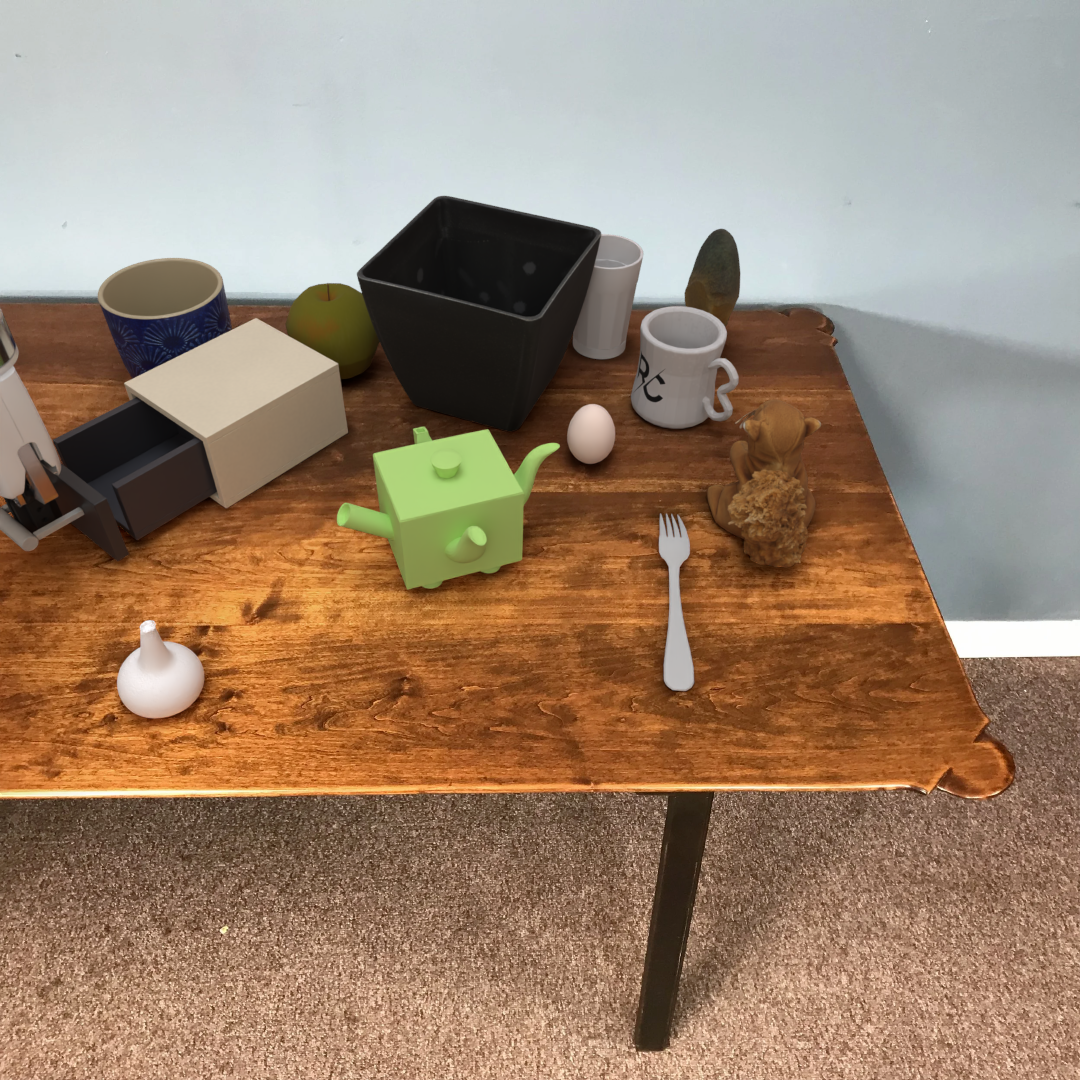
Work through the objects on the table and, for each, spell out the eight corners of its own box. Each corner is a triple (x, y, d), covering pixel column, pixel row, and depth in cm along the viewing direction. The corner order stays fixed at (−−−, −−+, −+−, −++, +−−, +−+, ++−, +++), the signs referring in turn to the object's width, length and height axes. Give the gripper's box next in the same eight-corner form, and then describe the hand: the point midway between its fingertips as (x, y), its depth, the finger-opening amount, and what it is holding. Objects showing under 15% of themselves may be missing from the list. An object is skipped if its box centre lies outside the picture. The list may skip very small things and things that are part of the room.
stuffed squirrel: (804, 489, 92) (839, 380, 83) (823, 593, 82) (864, 482, 73) (705, 481, 93) (728, 371, 83) (711, 583, 83) (738, 472, 73)
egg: (569, 442, 97) (573, 389, 92) (614, 448, 96) (620, 395, 91) (562, 471, 93) (565, 418, 88) (609, 477, 93) (615, 425, 88)
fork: (657, 704, 76) (662, 687, 74) (654, 513, 89) (658, 494, 87) (691, 706, 76) (697, 689, 74) (683, 515, 89) (687, 496, 87)
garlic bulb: (120, 673, 74) (89, 608, 68) (200, 650, 76) (177, 585, 70) (129, 736, 70) (96, 672, 64) (213, 710, 72) (189, 645, 66)
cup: (607, 371, 106) (617, 276, 98) (552, 346, 109) (556, 252, 101) (645, 342, 111) (657, 249, 102) (590, 319, 114) (598, 227, 105)
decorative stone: (679, 326, 113) (697, 209, 103) (729, 333, 113) (752, 216, 102) (671, 370, 107) (691, 250, 96) (724, 377, 106) (749, 257, 95)
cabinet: (226, 508, 88) (206, 437, 82) (147, 453, 93) (123, 382, 87) (348, 432, 96) (338, 363, 90) (270, 385, 102) (256, 317, 96)
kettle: (556, 524, 88) (561, 432, 80) (495, 631, 78) (495, 538, 70) (415, 482, 91) (407, 389, 83) (341, 579, 82) (324, 485, 74)
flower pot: (532, 462, 94) (538, 317, 82) (368, 416, 98) (351, 273, 87) (592, 365, 107) (604, 228, 95) (445, 329, 111) (438, 193, 99)
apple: (391, 348, 108) (382, 262, 100) (375, 397, 101) (364, 309, 93) (306, 343, 108) (291, 256, 100) (284, 391, 101) (267, 302, 93)
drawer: (57, 598, 78) (29, 542, 73) (-12, 536, 83) (-44, 479, 78) (250, 480, 89) (236, 424, 84) (179, 432, 94) (162, 376, 89)
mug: (612, 403, 102) (621, 324, 95) (668, 373, 106) (680, 295, 99) (696, 458, 95) (712, 378, 88) (752, 424, 100) (772, 345, 93)
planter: (264, 376, 103) (245, 289, 95) (162, 422, 97) (133, 332, 89) (206, 331, 109) (184, 245, 101) (107, 371, 103) (75, 283, 95)
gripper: (-145, 329, 68) (-43, 510, 81) (-44, 410, 62) (50, 592, 75) (-45, 291, 72) (37, 468, 85) (59, 362, 66) (131, 543, 79)
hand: (43, 526), depth 80 cm, fingers closed
